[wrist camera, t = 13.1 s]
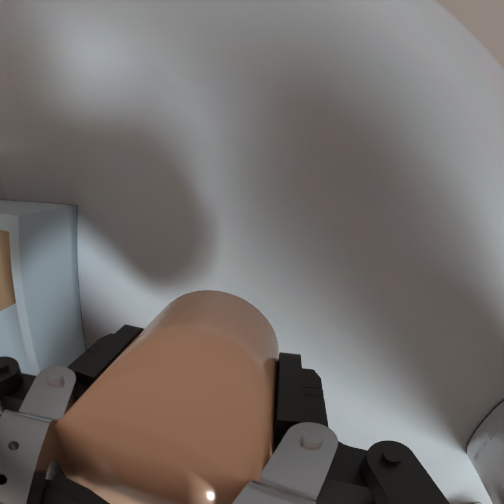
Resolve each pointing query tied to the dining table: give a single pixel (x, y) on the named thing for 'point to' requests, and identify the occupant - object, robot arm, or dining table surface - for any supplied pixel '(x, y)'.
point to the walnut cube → (6, 273)
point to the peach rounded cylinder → (180, 407)
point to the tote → (42, 286)
